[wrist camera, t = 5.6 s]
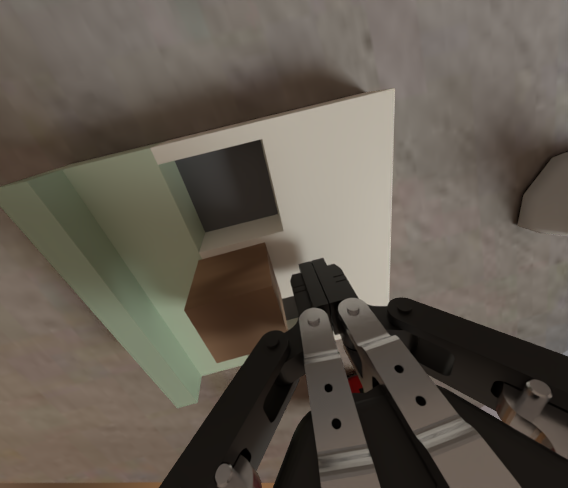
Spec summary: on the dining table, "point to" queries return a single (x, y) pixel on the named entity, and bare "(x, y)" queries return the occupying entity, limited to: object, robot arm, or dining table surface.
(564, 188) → the flask
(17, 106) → the dining table surface
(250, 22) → the dining table surface
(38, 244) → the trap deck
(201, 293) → the walnut block
